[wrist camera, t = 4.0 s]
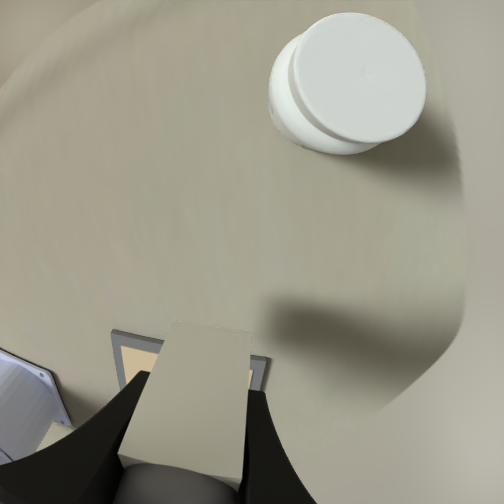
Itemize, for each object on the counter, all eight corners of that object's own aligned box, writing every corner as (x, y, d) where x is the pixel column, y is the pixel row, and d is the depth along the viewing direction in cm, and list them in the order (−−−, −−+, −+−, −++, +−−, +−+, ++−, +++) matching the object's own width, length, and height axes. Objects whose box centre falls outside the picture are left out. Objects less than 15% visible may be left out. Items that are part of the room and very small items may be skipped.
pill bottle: (376, 114, 13) (470, 104, 6) (309, 167, 14) (354, 200, 7) (318, 45, 12) (365, -29, 5) (248, 98, 13) (230, 57, 6)
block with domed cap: (172, 375, 13) (123, 527, 6) (171, 317, 12) (97, 492, 5) (243, 387, 13) (230, 548, 6) (254, 330, 12) (243, 524, 5)
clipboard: (136, 447, 24) (133, 457, 22) (112, 329, 18) (105, 340, 17) (238, 467, 24) (237, 477, 23) (266, 357, 18) (266, 370, 17)
